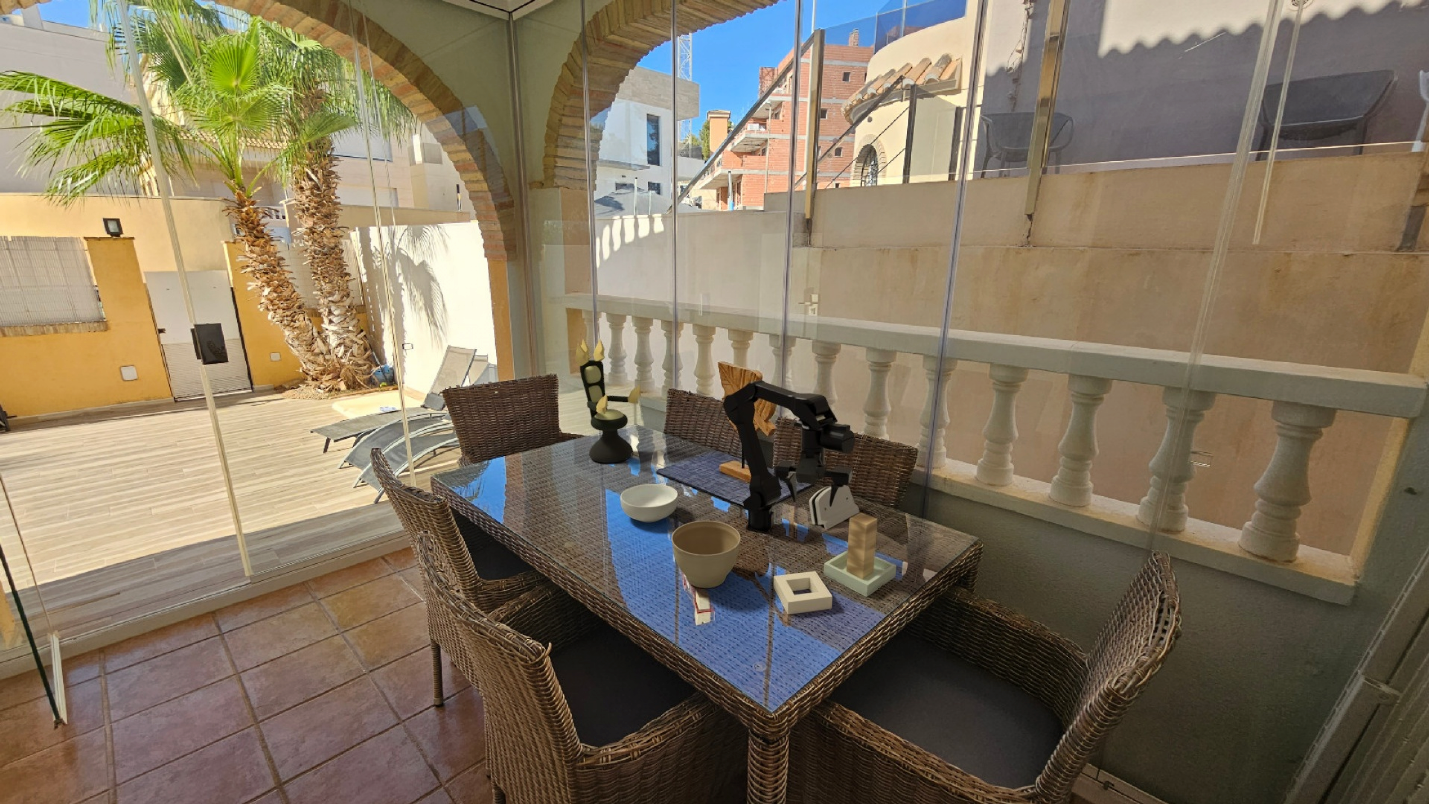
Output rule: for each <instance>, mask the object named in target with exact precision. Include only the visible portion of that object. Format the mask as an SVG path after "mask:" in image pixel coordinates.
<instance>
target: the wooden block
mask: <svg viewBox="0 0 1429 804" xmlns="http://www.w3.org/2000/svg"><path fill="white" fill-rule="evenodd" d="M877 529H878V518H876V517H873V516H870V515H868V514H865V513H863V512H859V513H857V514H855V515H853V516H851V517H849V524H848V537H847V538H848V540H847V541H848V542H847V550H848V553H847V569H846V572H848V573H850V574H852V575H854V576H856V577H858V578H860V579H862V580H863V579H864V578H866V577H867V576H869V575H870V574H872V573H873V570H874V557H875V556H876V544H877V543H876V542H877Z"/></svg>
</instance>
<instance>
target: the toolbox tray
mask: <svg viewBox="0 0 1429 804" xmlns="http://www.w3.org/2000/svg"><path fill="white" fill-rule="evenodd" d="M847 553H848V549H847V550H845V551H843V552H842V553H840V554H838V555H836V556H834V557H833V558H831V559H829V560H828V561H826V562H823V576H825V577H828V578H829V579H831V580H833V581H835V582H837V583H838V584H840V585H842V586H845V587H847V588H848V589H851V590H852V591H855V592H856V593H858V594H859V595H862V596H864V597H866V598H868V597H869V596H870V595H872V594H873V593H874V592H876V591H877V590H879V589H880V588H881V586H882V585H883V586H885V585H886V584H887V583H889V582H890V581H891V580H893V579H894V578H896V574H897V565H896V564H894V563H892V562H889V561H888V560H885V559H883V558H881V557H879V556H877V555H875V557H874V570H873V573H872V574H870V575H869V576H867V577H866V578H864V579H863V580H862V579H860V578H858V577H856V576H854V575H852V574H850V573H848V572H846V569H847ZM883 586H882V587H883ZM878 588H879V589H878Z"/></svg>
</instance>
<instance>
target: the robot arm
mask: <svg viewBox="0 0 1429 804" xmlns="http://www.w3.org/2000/svg"><path fill="white" fill-rule="evenodd" d="M759 400H763V401H766V402H767V403H772V404H774V405H776V406H780V407H782V408H785V409H787V410H789V411H790V412H791V414H793V416H794V417H796V418H797V419H798V420H797V421H795V422H794V423H793V426H794V427H796V428H800V429H801V430H800V431H801V432H800V439H801V440H800V442H801V444H800V445H801V446H800V449H801V450H800V455H799V460H798V463H797V465H795V462H794V461H790V460H789V461H788V460H780V461H779V462H778V463H777V464H776V465H775V467H774V470H773V474H772V473H771V472H770V471H769V469H768V465H767V463H766V460H765V456H764V452H763V449H762V447H761V443H760V440H759V436H758V433H757V429H756V426H755V423H754V420H755V414H756V407H755V403H757V402H758V401H759ZM722 407H723V410H724V411H725V412H724V413H725V414H726V416H727V419H728V420H729V421H730V422H731V423H732V424H733V425H734V426H735V427H736V431H737V433H738V437H739V441H740V444H741V446H742V447H741V448H742V451H743V453H744V457H745V460H746V464H747V467H748V470H749V474H750V480H749V484H748V485H749V487H748V490H749V496H748V497H747V498H746V499H744V500H743V501H742V504H743V509H745V510H746V511H747V525H746V526H745V529H746V530H749V531H753V532H759V533H763V534H768V533H769V532H770V530H771V529H772V528H773V527H774V526H775V525H774V524H775V511H773V506H776V505H777V503H778V501H779V500H780V499H781V497H782V489H783V487H782V486H781V482H783V483H784V484H785V485H786V487H787V488H788V490H789V493H790V496H791V498H792V501H793V503H796V502H797V491H798V490H797V483H798V484H808V485H811V486H812V485H816V483H817V482H818V480H825V479H826V478H828V479H829V478H830V479H831V481H832V482H831V484H830V486H831V494H830V501H829V504H830V507H831V506H832V504H833V501H834V498H835V495H836V493H837V490H838V488H839V487H844V485H845V486H849V485H850V483H851V480H852V478H853V469H852V468H851V467H849V466H841V465H836V466H835V467H834V469H827V466H826V465H825V452H826V450H828V451H831V452H836V453H840V454H845V455H848V454H850V453H851V452H852V451H853V449H854V447H855V445H856V444H855V443H856V437H855V434H854V432H853V430H852V429H851V425H850V424H846V423H845V424H841V423H838V418H837V417H836V415H835V414H834V412H833V410H832V408H831V407H830V405H829V402H828V400H827V397H826V396H825V395H823V394H819V393H808V392H807V393H805V392H804V393H802V392H800V393H799V392H796V391H793V390H790V389H787V388H783V387H780V386H777V385H774V384H772V383H768V382H766V381H764V380H763V379H757V380H753V381H749V382H748V383H747V384H746V385H744V386H743V387H742V388H740V389H738V390H737V391H735V392H734V393H732V394H727V395H726V396H725V397H724V398H723V401H722ZM823 417H824V418H823ZM821 418H822V419H821ZM780 481H781V482H780Z"/></svg>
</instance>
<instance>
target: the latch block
mask: <svg viewBox="0 0 1429 804" xmlns="http://www.w3.org/2000/svg"><path fill="white" fill-rule="evenodd" d="M773 590H774V591H775V592H776V594H777V597H778V598H779V600H780V602H781V605H782V606H783V609H784V610H785V612H786V614H787V615H794V614H801V613H809V612H815V611H824V610H831V609H832V608H833V595H832V594H831V592H830V591H829V589H828V588H827V586H826V585H825V584H824V582H823V581H822V579H821V578H820V576H819V574H818V573H817V572H816V570H814V571H805V572H797V573H789V574H782V575H781V574H779V575H774V576H773ZM803 590H809V591H810V592H808V593H800V594H794V592H795V591H803Z"/></svg>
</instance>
